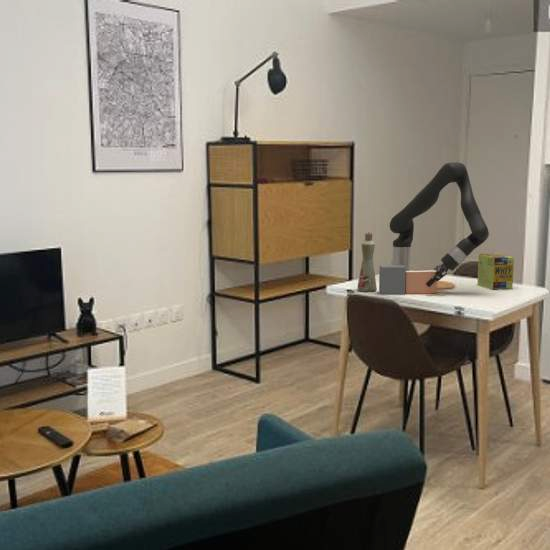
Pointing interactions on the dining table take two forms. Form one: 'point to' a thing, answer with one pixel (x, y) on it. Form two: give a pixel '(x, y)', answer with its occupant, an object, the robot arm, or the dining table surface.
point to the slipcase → (392, 279)
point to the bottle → (367, 266)
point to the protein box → (495, 271)
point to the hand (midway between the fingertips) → (426, 284)
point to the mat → (432, 294)
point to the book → (419, 282)
